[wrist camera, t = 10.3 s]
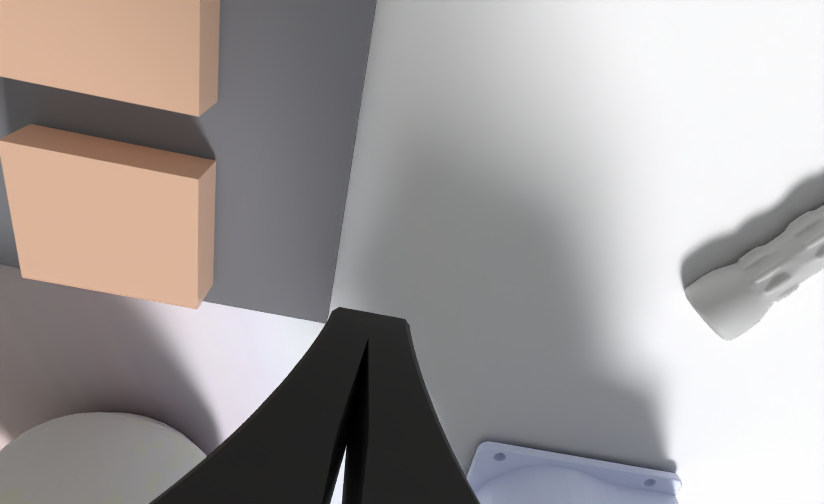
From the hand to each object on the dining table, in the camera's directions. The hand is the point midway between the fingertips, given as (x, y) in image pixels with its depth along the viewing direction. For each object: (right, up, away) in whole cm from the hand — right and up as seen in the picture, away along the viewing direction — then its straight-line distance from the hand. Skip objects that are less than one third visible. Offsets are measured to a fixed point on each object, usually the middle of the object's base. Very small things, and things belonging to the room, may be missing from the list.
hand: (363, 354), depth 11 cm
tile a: (-6, +2, +9) cm, 11 cm away
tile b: (-5, +8, +5) cm, 11 cm away
